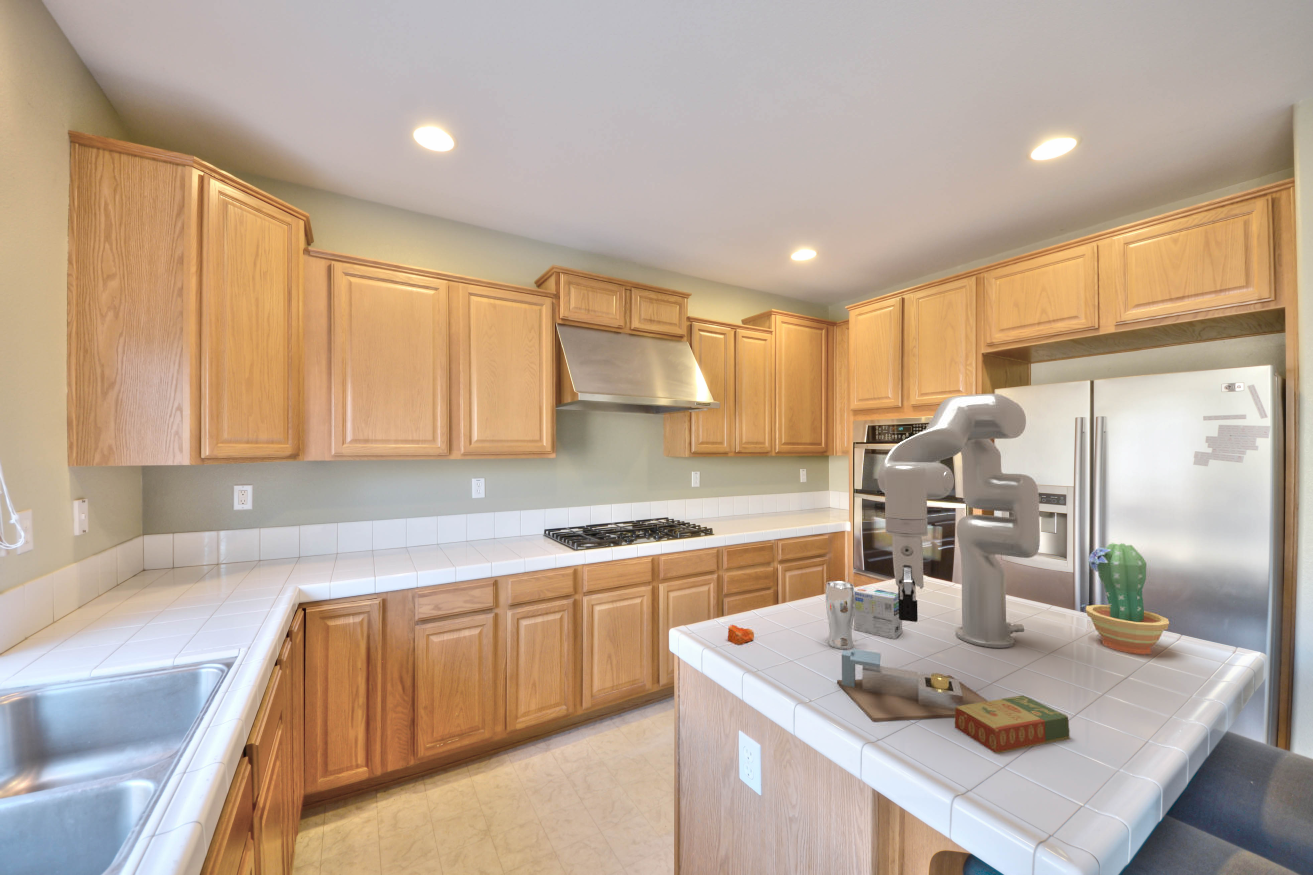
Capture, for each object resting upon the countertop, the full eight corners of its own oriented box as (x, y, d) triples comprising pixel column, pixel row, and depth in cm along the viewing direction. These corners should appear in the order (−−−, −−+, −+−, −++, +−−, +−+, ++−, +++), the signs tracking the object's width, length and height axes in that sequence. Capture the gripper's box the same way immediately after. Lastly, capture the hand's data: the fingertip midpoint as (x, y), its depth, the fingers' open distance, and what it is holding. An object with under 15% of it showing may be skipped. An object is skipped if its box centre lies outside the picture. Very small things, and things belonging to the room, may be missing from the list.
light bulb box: (903, 632, 136) (902, 592, 136) (895, 640, 131) (894, 597, 131) (862, 623, 143) (861, 584, 143) (853, 630, 138) (852, 590, 138)
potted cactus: (1097, 631, 136) (1096, 536, 137) (1179, 650, 124) (1176, 546, 124) (1075, 643, 128) (1073, 543, 128) (1160, 665, 115) (1157, 553, 116)
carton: (953, 729, 90) (953, 704, 90) (1023, 716, 95) (1022, 692, 95) (996, 756, 82) (996, 728, 82) (1070, 740, 87) (1070, 714, 87)
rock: (774, 645, 130) (774, 628, 130) (739, 656, 123) (739, 638, 123) (741, 631, 139) (741, 615, 140) (707, 640, 133) (707, 624, 133)
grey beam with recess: (958, 695, 100) (958, 674, 100) (962, 712, 94) (962, 690, 94) (864, 678, 108) (863, 659, 108) (861, 693, 101) (861, 673, 101)
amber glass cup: (942, 696, 100) (942, 672, 100) (952, 703, 97) (952, 679, 97) (927, 696, 100) (927, 673, 100) (937, 704, 97) (937, 680, 97)
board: (950, 678, 109) (950, 675, 109) (1003, 714, 94) (1003, 711, 94) (837, 683, 107) (836, 680, 107) (873, 721, 92) (873, 718, 92)
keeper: (880, 686, 106) (880, 652, 106) (880, 699, 100) (879, 664, 100) (843, 679, 109) (843, 647, 109) (841, 691, 103) (840, 657, 103)
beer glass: (851, 639, 131) (850, 581, 131) (859, 650, 124) (858, 588, 124) (823, 639, 132) (822, 580, 132) (829, 649, 125) (829, 587, 125)
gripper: (930, 534, 92) (931, 630, 92) (925, 521, 108) (926, 602, 108) (884, 532, 96) (886, 624, 95) (886, 519, 111) (887, 598, 111)
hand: (907, 612), depth 102 cm, fingers open, 9 cm apart
